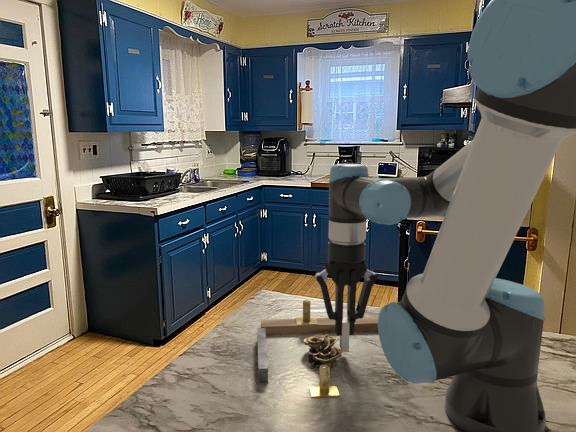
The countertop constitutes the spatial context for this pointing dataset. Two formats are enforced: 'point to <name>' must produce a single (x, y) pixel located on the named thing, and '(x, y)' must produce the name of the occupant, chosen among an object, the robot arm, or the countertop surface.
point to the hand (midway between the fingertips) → (344, 348)
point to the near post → (324, 385)
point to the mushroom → (322, 351)
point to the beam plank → (313, 324)
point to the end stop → (262, 356)
